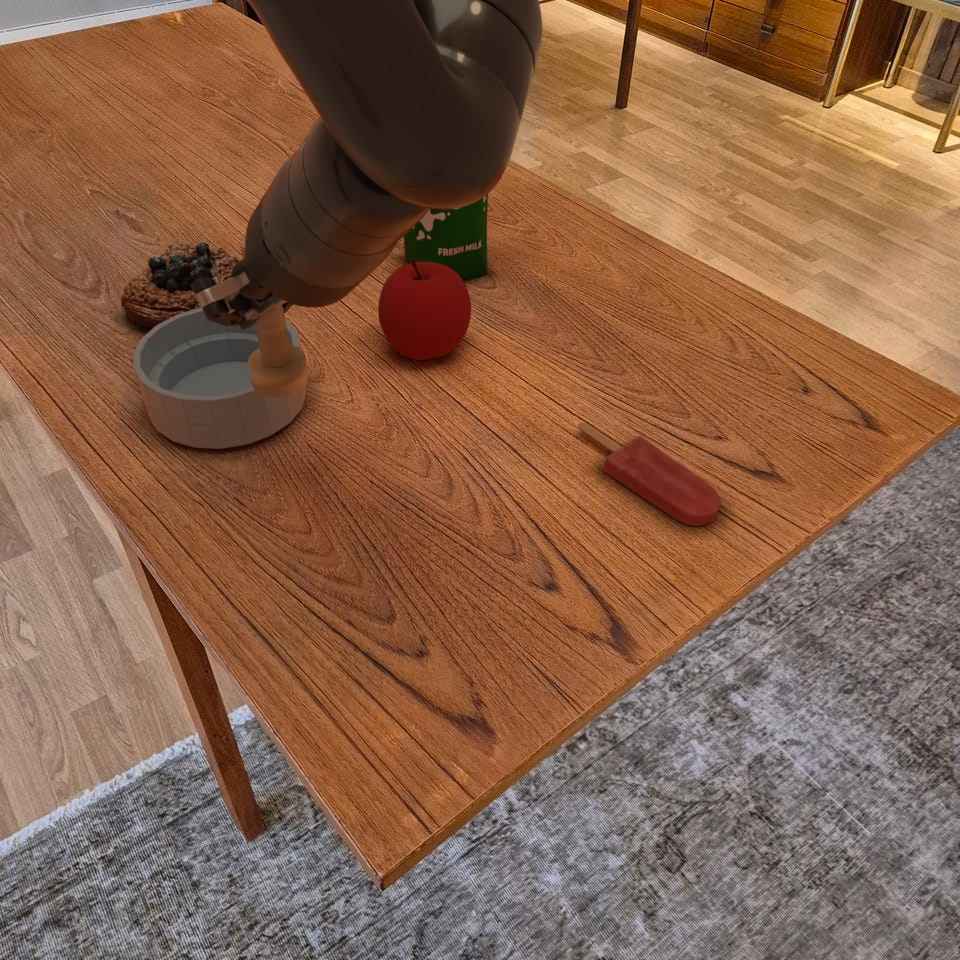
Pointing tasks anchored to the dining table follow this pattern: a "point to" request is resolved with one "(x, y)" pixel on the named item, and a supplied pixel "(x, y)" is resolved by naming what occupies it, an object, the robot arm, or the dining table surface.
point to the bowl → (208, 383)
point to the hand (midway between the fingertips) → (256, 309)
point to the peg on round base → (275, 357)
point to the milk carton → (452, 239)
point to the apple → (424, 310)
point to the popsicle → (659, 479)
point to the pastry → (172, 283)
